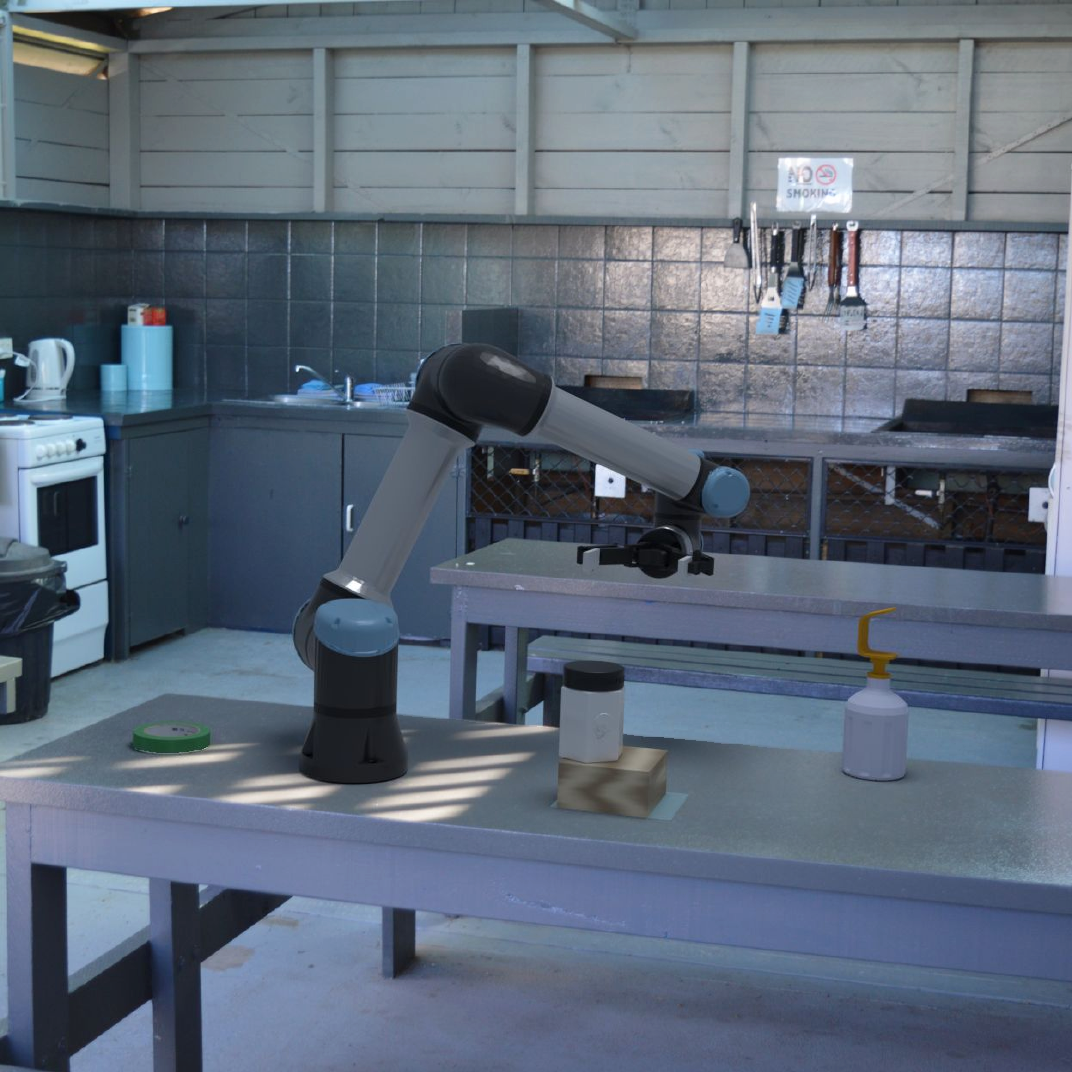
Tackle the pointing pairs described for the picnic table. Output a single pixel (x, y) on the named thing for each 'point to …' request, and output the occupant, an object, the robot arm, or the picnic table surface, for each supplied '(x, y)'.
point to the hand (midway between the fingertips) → (632, 566)
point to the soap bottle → (875, 719)
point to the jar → (592, 711)
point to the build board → (660, 806)
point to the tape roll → (171, 737)
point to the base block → (615, 783)
